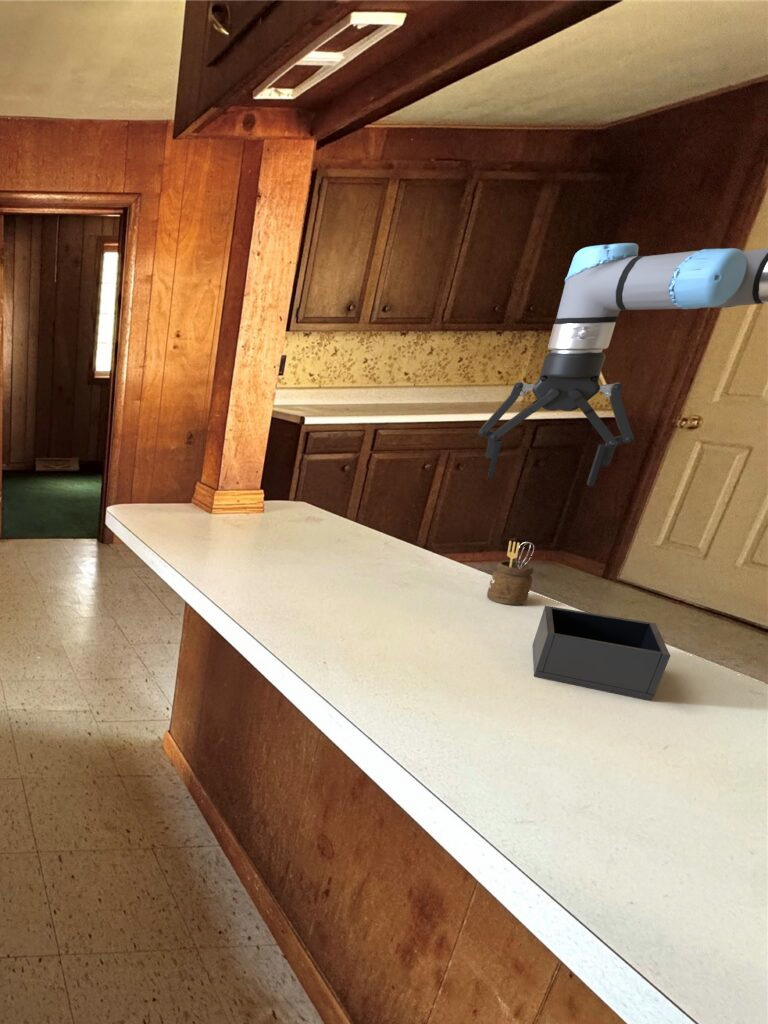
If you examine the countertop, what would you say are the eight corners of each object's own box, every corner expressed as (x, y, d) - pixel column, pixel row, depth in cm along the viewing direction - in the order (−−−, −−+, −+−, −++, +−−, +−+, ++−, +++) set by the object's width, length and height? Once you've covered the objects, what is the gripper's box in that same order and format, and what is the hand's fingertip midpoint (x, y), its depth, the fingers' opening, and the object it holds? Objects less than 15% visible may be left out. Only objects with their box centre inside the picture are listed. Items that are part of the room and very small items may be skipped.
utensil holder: (532, 601, 123) (551, 539, 118) (514, 608, 120) (534, 545, 115) (495, 592, 128) (513, 532, 123) (478, 598, 125) (495, 537, 120)
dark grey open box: (639, 665, 99) (656, 623, 97) (652, 701, 90) (670, 655, 88) (532, 645, 107) (545, 605, 104) (533, 676, 97) (547, 633, 95)
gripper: (480, 353, 112) (450, 477, 120) (688, 351, 98) (639, 492, 106) (482, 351, 118) (453, 470, 125) (679, 349, 103) (633, 483, 111)
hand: (538, 480), depth 116 cm, fingers open, 13 cm apart
